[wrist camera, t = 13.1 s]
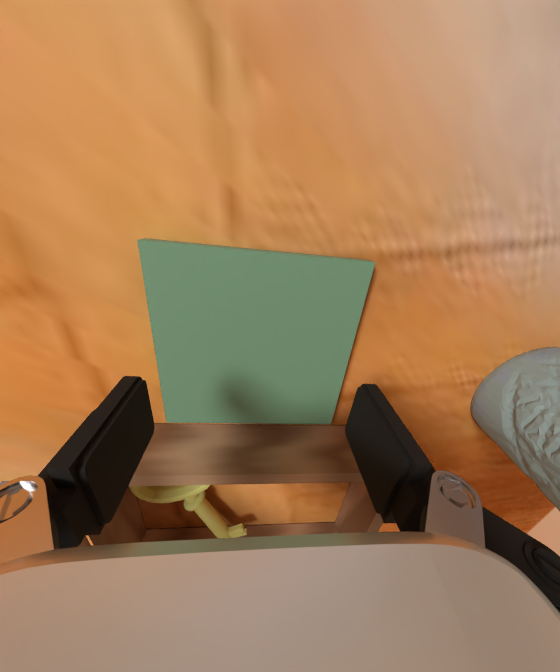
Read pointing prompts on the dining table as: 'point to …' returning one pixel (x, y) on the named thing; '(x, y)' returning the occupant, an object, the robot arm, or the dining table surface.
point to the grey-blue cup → (525, 415)
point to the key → (190, 505)
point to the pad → (251, 330)
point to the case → (243, 475)
